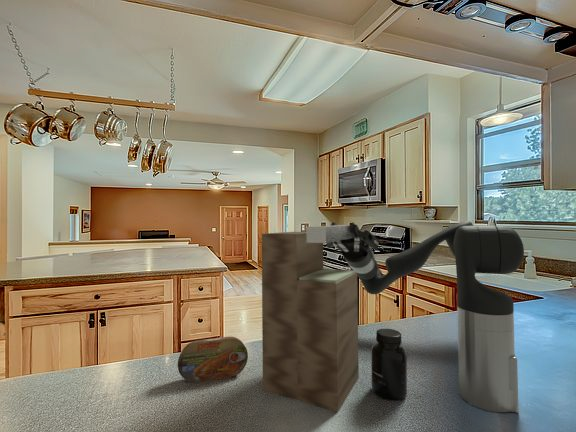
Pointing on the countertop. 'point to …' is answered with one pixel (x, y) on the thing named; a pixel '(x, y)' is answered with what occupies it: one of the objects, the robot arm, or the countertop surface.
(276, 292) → the walnut stand
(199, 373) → the tin
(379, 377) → the supplement bottle
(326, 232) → the steel bar
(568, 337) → the countertop surface
